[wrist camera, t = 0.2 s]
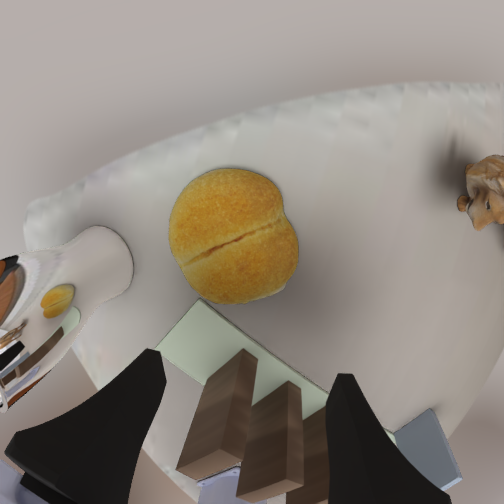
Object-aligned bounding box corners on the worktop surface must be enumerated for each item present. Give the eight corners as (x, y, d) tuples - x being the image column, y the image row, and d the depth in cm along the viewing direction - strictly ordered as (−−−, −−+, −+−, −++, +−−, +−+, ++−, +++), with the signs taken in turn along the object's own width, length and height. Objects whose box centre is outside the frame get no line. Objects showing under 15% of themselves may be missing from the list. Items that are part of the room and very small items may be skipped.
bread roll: (263, 150, 19) (258, 147, 15) (309, 271, 21) (315, 295, 17) (156, 197, 20) (130, 206, 16) (206, 305, 22) (192, 332, 18)
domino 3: (337, 411, 24) (348, 499, 14) (299, 434, 25) (298, 517, 16) (326, 404, 24) (336, 495, 14) (288, 428, 25) (285, 513, 16)
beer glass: (76, 209, 21) (-77, 270, 7) (145, 235, 21) (-13, 340, 7) (70, 282, 23) (-47, 369, 9) (133, 311, 23) (24, 437, 9)
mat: (353, 465, 27) (354, 466, 27) (155, 347, 24) (154, 349, 24) (400, 438, 25) (401, 439, 25) (199, 297, 22) (198, 299, 22)
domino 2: (301, 388, 23) (303, 485, 14) (262, 414, 25) (252, 503, 15) (288, 379, 23) (286, 478, 14) (250, 406, 24) (235, 497, 15)
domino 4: (434, 412, 24) (462, 479, 14) (399, 437, 25) (418, 504, 16) (429, 408, 24) (458, 477, 14) (393, 433, 25) (412, 503, 15)
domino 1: (258, 359, 23) (242, 460, 13) (221, 388, 24) (195, 479, 15) (243, 348, 22) (220, 448, 13) (207, 378, 24) (175, 469, 14)
